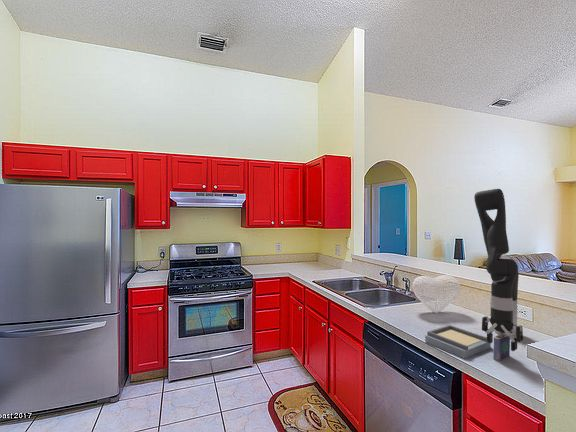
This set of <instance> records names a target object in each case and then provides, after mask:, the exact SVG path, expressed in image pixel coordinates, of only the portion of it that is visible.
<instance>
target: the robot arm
mask: <svg viewBox="0 0 576 432" xmlns="http://www.w3.org/2000/svg"><path fill="white" fill-rule="evenodd" d="M474 204H475V207H476V211H477V214H478V218H479V221H480V225H481V231H482V236H483V242H484V245H485V249H486V253H487V260H486V265H485V268H486V272H487V273H488V274H490V278H491V281H492V282H491V286H490V287H491V292H490V293H491V295H490V296H491V297H490V317H489V316H488V315H487V316H486V315H485V316H483V317H481V318H482V319H481V331H482V332H484V333H486V337H487V341H488V343H491V344H492V343H494V337H493V336H494V335H493V334H494V333H493V332H495V333H496V334H498V335H499V332H502V333H503V334H504V333H505V334H507V336H508V337H509V338H510V351H512V352H515V351H516V350H518V343H521V342H524V333H523V332H524V330H523V326H522V325H518V294H519V293H518V291H519V289H518V287H519V274H520V273H519V266H518V263H517V262H516V260H514V259H512V258H501V257H502V256H503V255H506V254H508V253H509V252H510V246H509V240H508V235H507V216H506V215H507V214H506V212H507V211H506V201H505V194H504V192H503V190H502V189H501V188H494V189H487V190H481V191H477V192H476V193H475V194H474ZM493 210H494V211H495V210H496V214H495V218H494V220H493V218H492V217H491V216H490V215H489V214H488V212H487V211H493ZM489 323H490V324H491V326H490V327H489ZM498 331H499V332H498Z"/></svg>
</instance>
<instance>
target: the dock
mask: <svg viewBox="0 0 576 432" xmlns="http://www.w3.org/2000/svg"><path fill="white" fill-rule="evenodd" d="M424 338H425V340H424V341H425V343H427V344H429V345H432V346H434V347H436V348H439V349H442V350H443V351H446V352H448V353H450V354H454V355H455V356H457V357H460V358H463V359H466V358H469V357H471V356H475V355H476V354H478V353H481V352H483V351H487V350H488V349H490V348H492V343H488V341H487V336H484V335H481V334H478V333H475V332H472V331H469V330H465V329H463V328H460V327H456V326H453V325H451V324H449V325H448V324H447V325H445V326H441V327H438V328H435V329H432V330H428V331H427V332H426V335H425V336H424Z"/></svg>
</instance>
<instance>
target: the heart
mask: <svg viewBox="0 0 576 432" xmlns="http://www.w3.org/2000/svg"><path fill="white" fill-rule="evenodd" d="M411 285H412V287H411V289H412V291H413V293H414V295H415V297H416V298H417V299H418V300H419V301H420V302H421V303H422V304H423V305H424V306H425V307H426V308H428V310H430V311H431V312H432V313H436V314H438V313H439V312H441V311H443V310H444V309H445V308H446V307H448V305H449V304H450V303H452V302H453V301H454V300H456V299H457V297H458V296H459V295H460V292H461V284H460V282H459V281H458V279H457V278H456V277H454V276H452V275H449V274H442V275H439V276H436V277H432V276H429V275H419V276H418V277H417V276H416V277H415V278H414V279H413V281H412V284H411Z"/></svg>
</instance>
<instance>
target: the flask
mask: <svg viewBox="0 0 576 432" xmlns="http://www.w3.org/2000/svg"><path fill="white" fill-rule="evenodd" d="M498 332H499V331H498ZM510 351H511V339H510V338H509V337H508V336H507V334H505V333H504V334H503V333H502V332H499V334H498V335H496V336H494V337H493V360H495V361H503V360H505V359H507V358H510V356H511V355H510V354H511V353H510Z"/></svg>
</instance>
